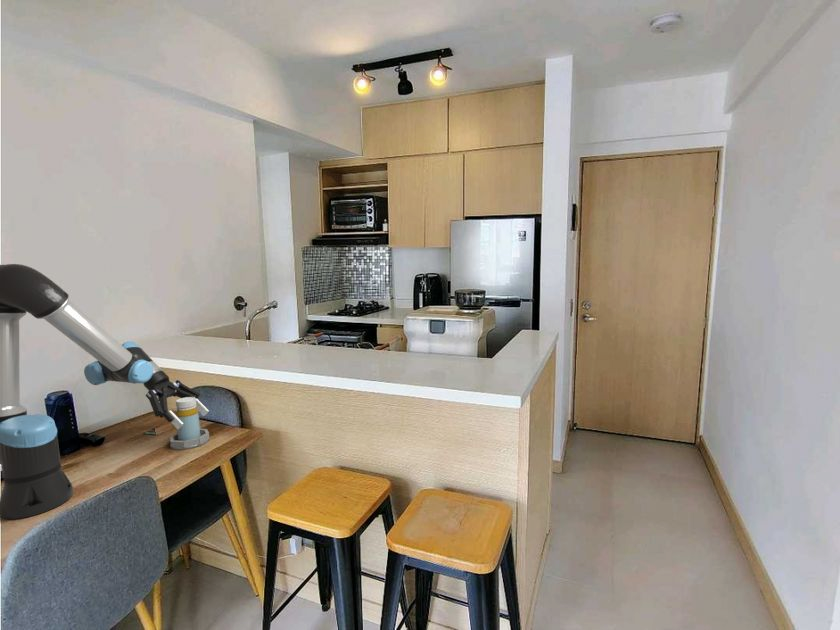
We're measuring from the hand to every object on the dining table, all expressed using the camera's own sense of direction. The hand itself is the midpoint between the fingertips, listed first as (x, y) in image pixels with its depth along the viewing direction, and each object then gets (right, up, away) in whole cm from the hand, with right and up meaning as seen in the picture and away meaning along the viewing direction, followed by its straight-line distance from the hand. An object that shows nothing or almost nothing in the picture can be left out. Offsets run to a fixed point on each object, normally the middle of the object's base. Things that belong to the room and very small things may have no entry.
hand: (194, 419), depth 155 cm
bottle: (-2, -8, +1) cm, 8 cm away
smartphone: (-20, -8, +18) cm, 28 cm away
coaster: (-2, -8, +2) cm, 9 cm away
